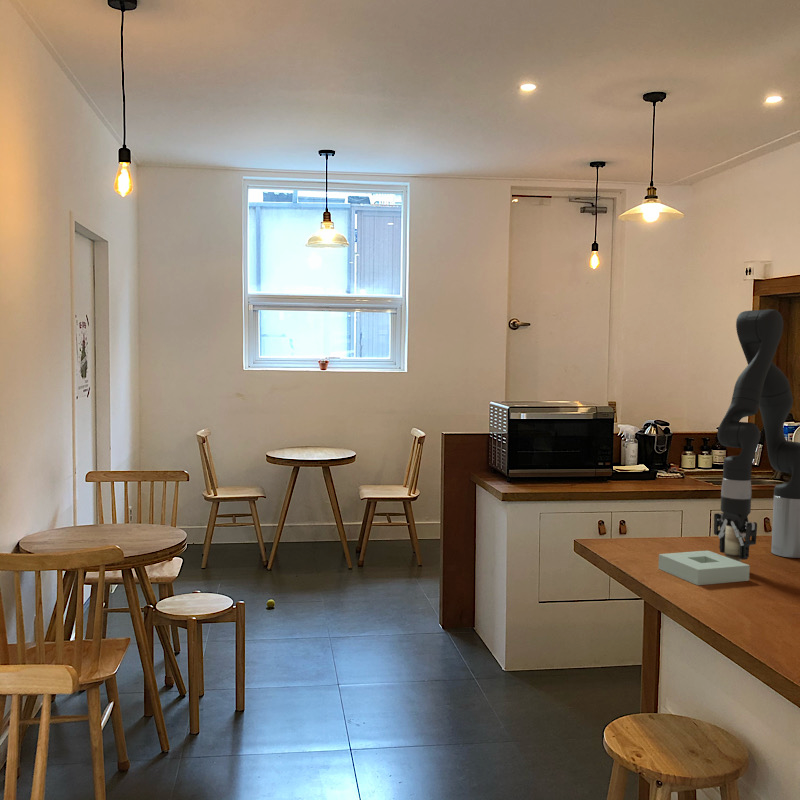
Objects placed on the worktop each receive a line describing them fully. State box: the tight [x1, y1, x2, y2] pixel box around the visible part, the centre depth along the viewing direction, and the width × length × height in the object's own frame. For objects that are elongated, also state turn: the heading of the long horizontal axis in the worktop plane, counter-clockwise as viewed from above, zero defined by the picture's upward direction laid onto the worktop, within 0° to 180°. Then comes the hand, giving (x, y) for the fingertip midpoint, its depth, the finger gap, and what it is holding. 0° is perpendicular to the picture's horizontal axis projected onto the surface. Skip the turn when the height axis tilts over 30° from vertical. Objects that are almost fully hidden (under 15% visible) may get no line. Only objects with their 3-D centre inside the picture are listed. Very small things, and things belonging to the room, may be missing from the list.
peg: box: [723, 525, 745, 562], centre depth 220 cm, size 5×5×12 cm
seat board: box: [657, 550, 751, 586], centre depth 214 cm, size 16×16×4 cm
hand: (733, 555), depth 220 cm, fingers open, 7 cm apart
